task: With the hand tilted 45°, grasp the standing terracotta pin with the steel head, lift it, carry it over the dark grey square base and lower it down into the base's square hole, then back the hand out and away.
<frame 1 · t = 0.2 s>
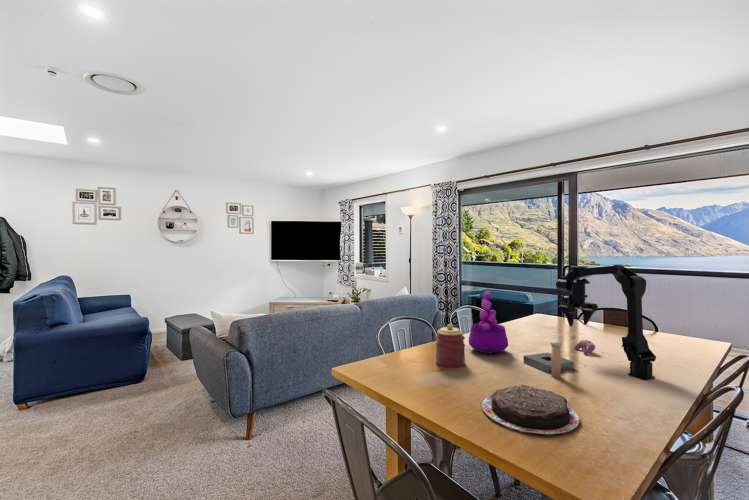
hand: (578, 325, 166), 15 cm above the table, tool pointing down, fingers open, 9 cm apart
dark grey square base: (548, 365, 153), on the table
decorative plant: (488, 351, 175), on the table
pin: (556, 376, 140), on the table
chocolate cake: (528, 414, 110), on the table
canister: (450, 363, 158), on the table
mauve curved piece: (584, 352, 172), on the table
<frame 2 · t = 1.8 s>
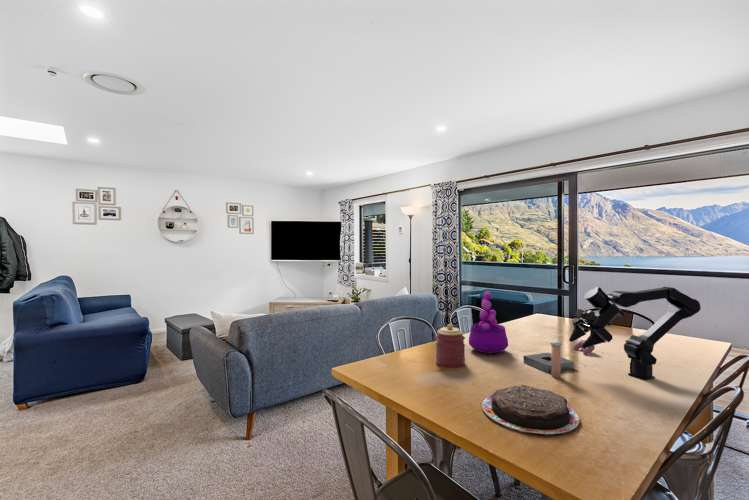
hand: (576, 344, 140), 13 cm above the table, tool tilted 45°, fingers open, 9 cm apart
nothing on the table moved.
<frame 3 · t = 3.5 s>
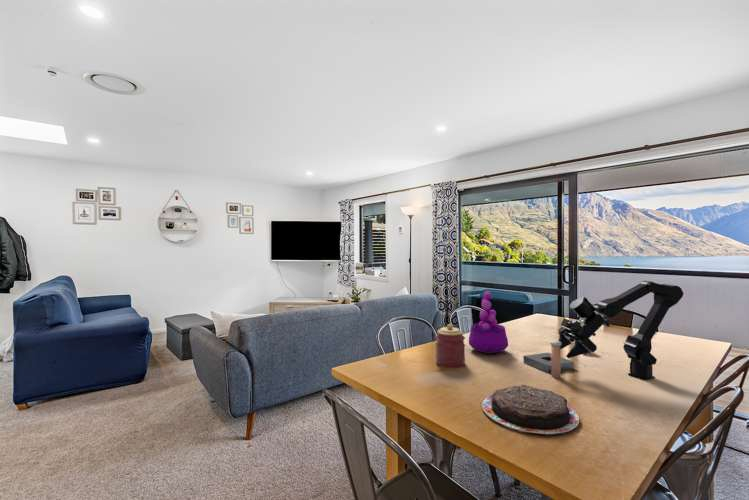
hand: (561, 353, 140), 9 cm above the table, tool tilted 45°, fingers open, 9 cm apart
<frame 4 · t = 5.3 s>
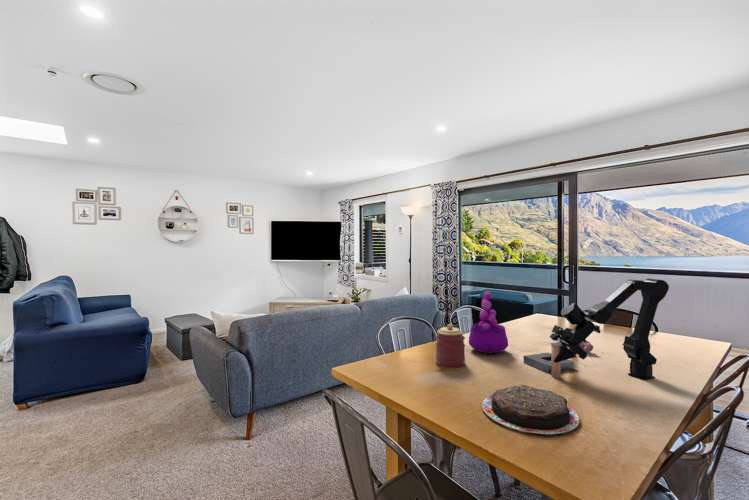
hand: (552, 360, 140), 7 cm above the table, tool tilted 45°, fingers closed on pin, 3 cm apart
pin: (556, 376, 140), on the table, touching gripper
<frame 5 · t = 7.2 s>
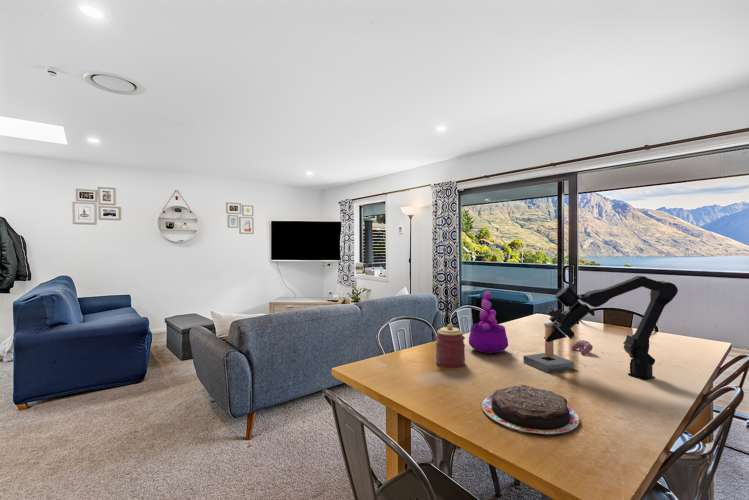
hand: (545, 340, 148), 13 cm above the table, tool tilted 45°, fingers closed on pin, 3 cm apart
pin: (549, 355, 148), point 6 cm above the table, touching gripper
when the fingers open (8 cm above the table, at t = 9.4 s): pin drops 1 cm, resting in dark grey square base.
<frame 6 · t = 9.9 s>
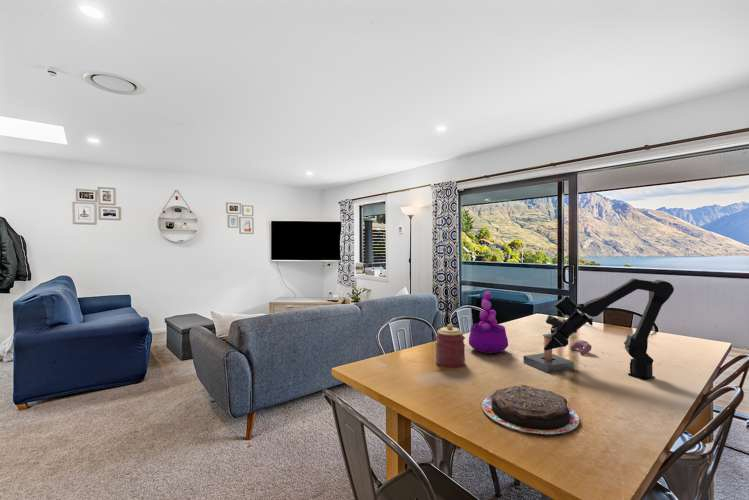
hand: (544, 346, 154), 8 cm above the table, tool tilted 45°, fingers open, 8 cm apart
pin: (548, 365, 153), resting in dark grey square base
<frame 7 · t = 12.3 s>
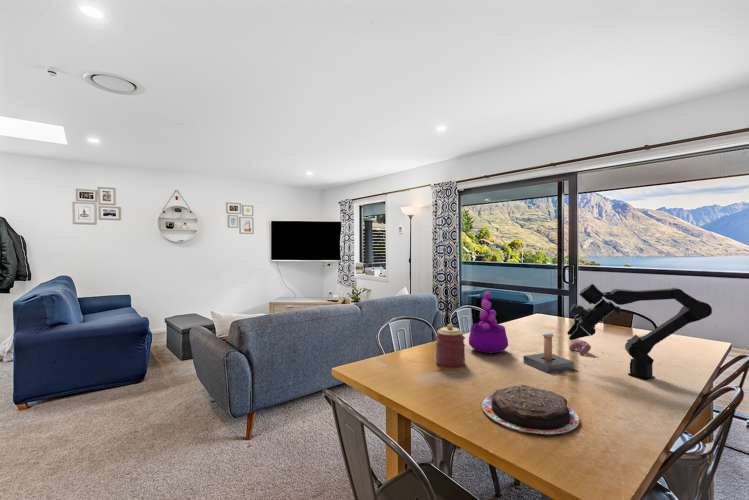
hand: (568, 336, 150), 14 cm above the table, tool tilted 45°, fingers open, 9 cm apart
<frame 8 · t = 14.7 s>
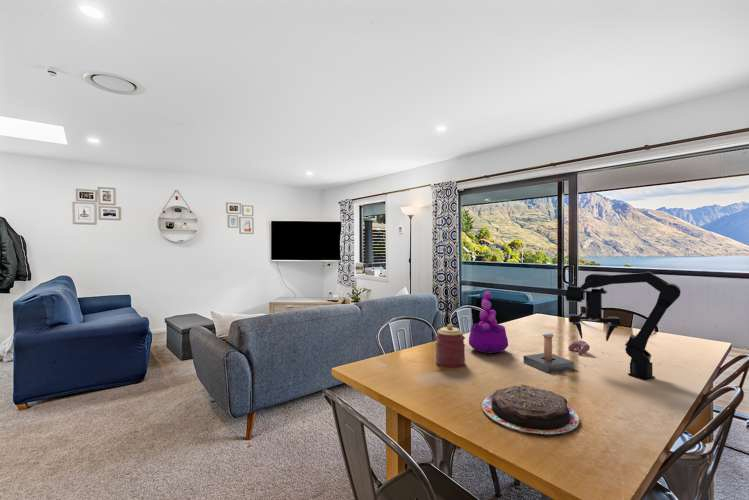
hand: (594, 339, 150), 12 cm above the table, tool pointing down, fingers open, 9 cm apart
at the end: pin 0.0 cm off-centre on the dark grey square base, point 0.0 cm above the dark grey square base's base; pin tilted 0°; the gripper is holding nothing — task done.
